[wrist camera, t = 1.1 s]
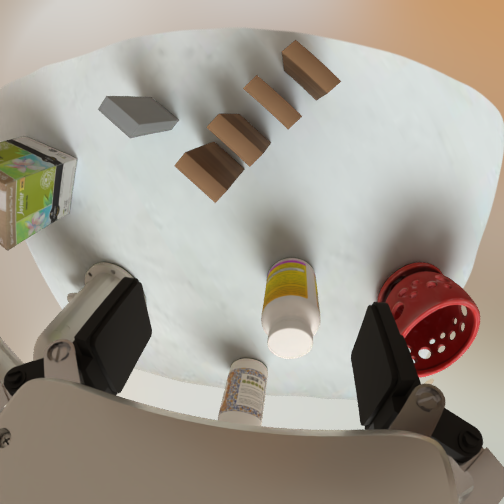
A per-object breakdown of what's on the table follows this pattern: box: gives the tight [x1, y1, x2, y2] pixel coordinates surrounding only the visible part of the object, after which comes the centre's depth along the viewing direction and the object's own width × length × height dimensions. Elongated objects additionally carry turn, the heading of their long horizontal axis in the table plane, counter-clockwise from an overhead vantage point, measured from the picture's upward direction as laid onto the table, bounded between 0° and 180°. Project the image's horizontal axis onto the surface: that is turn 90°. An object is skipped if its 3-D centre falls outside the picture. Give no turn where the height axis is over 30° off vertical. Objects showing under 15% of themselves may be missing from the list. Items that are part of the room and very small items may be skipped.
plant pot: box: [377, 262, 480, 377], centre depth 32 cm, size 13×13×12 cm
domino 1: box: [206, 114, 271, 167], centre depth 26 cm, size 2×5×10 cm, turn 47°
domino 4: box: [282, 40, 341, 100], centre depth 23 cm, size 2×5×10 cm, turn 46°
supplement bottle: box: [261, 258, 320, 359], centre depth 33 cm, size 7×7×13 cm
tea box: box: [0, 136, 77, 250], centre depth 29 cm, size 15×10×15 cm, turn 66°
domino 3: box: [243, 75, 302, 129], centre depth 25 cm, size 2×5×10 cm, turn 47°
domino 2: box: [175, 142, 244, 203], centre depth 28 cm, size 2×5×10 cm, turn 47°
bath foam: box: [218, 358, 268, 426], centre depth 40 cm, size 7×7×20 cm
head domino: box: [98, 96, 179, 138], centre depth 26 cm, size 2×5×10 cm, turn 46°
